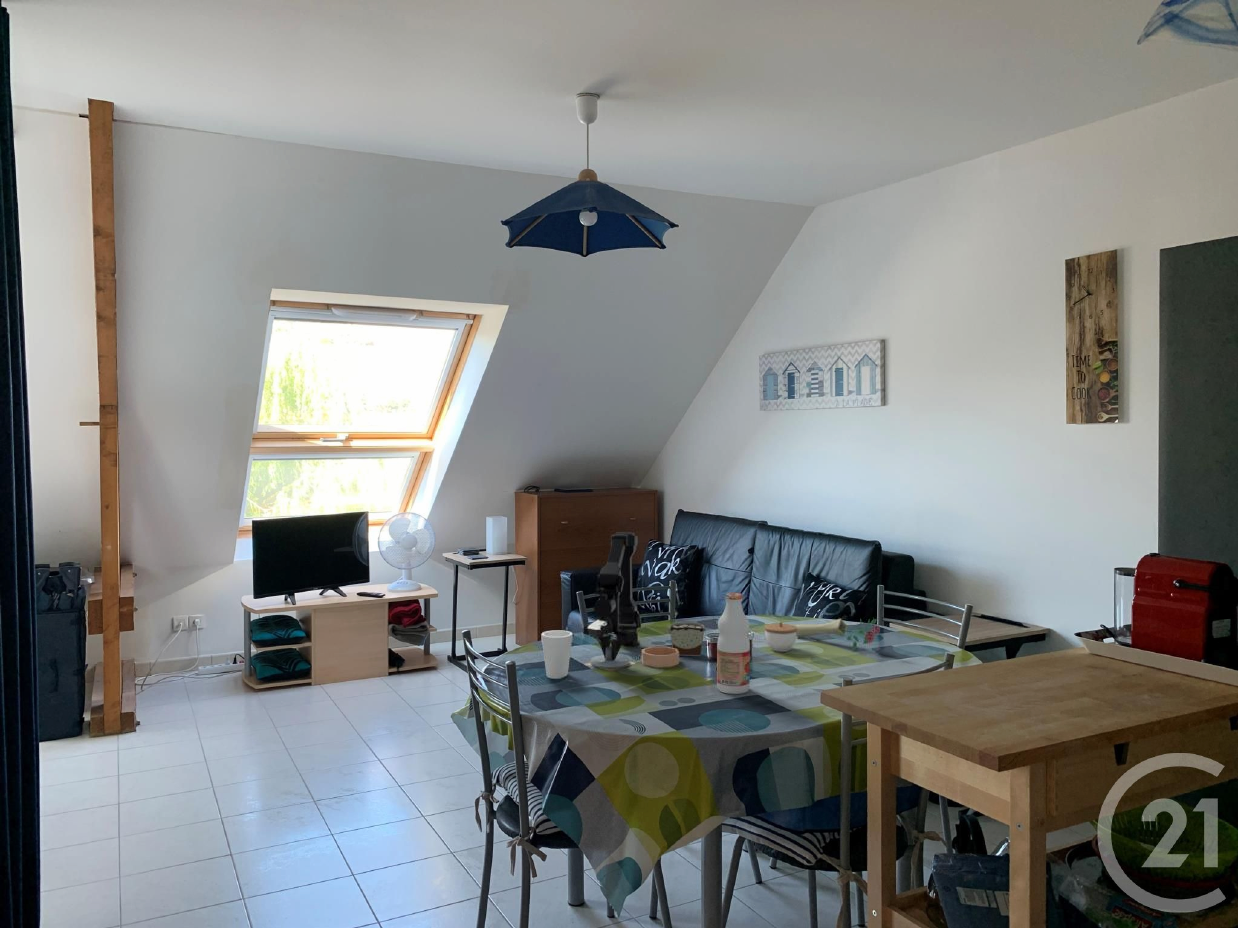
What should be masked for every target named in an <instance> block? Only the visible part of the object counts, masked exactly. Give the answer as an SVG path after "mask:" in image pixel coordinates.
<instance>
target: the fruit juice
mask: <svg viewBox="0 0 1238 928" xmlns="http://www.w3.org/2000/svg"><path fill="white" fill-rule="evenodd" d="M724 597H725V601H726V602H725V603H726V605H725V607H724V611H723V613H722V614H721V616H720V618H719V619H718V621H717V629H718V632H719V633H718V634H719V636H718V638H717V645H716V653H717V654H716V655H717V656H716V659H717V660H716V664H717V665H716V687H717V690H718V691H719V692H721V693H724V694H728V695H740V694H746V693H747V692H749V691H750V687H751V686H750V685H751V684H750V681H751V680H750V677H751V676H750V675H751V673H750V672H751V670H750V668H751V666H750V665H751V662H750V660H751V659H750V656H751V655H750V654H751V646H750V645H751V643H750V638H749V631H750V621H749V619H748V617H747V616H746V615H745V613H744V609H743V606H742V601H743V594H742V593H740V592H739V593H738V592H737V593H736V592H728V593H726V594H725V596H724Z"/></svg>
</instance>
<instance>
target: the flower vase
mask: <svg viewBox="0 0 1238 928" xmlns="http://www.w3.org/2000/svg"><path fill="white" fill-rule="evenodd" d="M859 620H860V623H858V624H857V625H856V626H855V627H856V628H857V629H858V630H855V631H853V629H854V628H855V627H853V629H851V630H847V628H848V625H847V624H846V623H845V621H844V620H843V619H842V618H838V619H835V620H832V621H829V622H827V623H796V624H795V625H794V626H795V627H796V628H797V631H796V638H805V637H810V636H816V635H834V636H835V635H836V636H841V637H845V635H846V633H848V634H849V636H846V638H845V639H846V640H847V641H852V652H855V651H856V649H857V642H858V643H860V640H859V638H858V637H857V636H856V635H851V634H852V633H853V634H859V635H862V636H864V637H863V643H862V645H866V644H867V645H869V644H871V643H873V641H874V640H875V637H876V635H878V634H879V633H880V631H881V630H880V629H881V628H880V626H879V625H875V624H876V622H877V620H878V619H877V618H873V619H872V620H871V621H870V620H868V622H867V624H866V625H864V626H862V619H861V618H860V619H859ZM870 625H874V626H872V629H871V628H869V627H870ZM860 626H862V628H860ZM865 626H867V627H865ZM864 627H865V628H864ZM853 639H854V640H855V641H853Z"/></svg>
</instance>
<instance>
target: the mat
mask: <svg viewBox="0 0 1238 928" xmlns="http://www.w3.org/2000/svg"><path fill="white" fill-rule="evenodd" d="M635 664H637V662H633V661H629V664H628V665H627V666H624V667H619V668H601V667H596V666H593V665H591V661H590V662H585V663H584V664H583V665H585V666H589V667H593V668H597V669H602V670H606V671H609V672H615V671H616V670H620V669H622V668H626V667H629V666H633V665H635Z"/></svg>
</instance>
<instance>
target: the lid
mask: <svg viewBox="0 0 1238 928" xmlns="http://www.w3.org/2000/svg"><path fill="white" fill-rule="evenodd" d="M590 662H591V665H593V666H596V667H595V668H597V667H601V668H619V667H623V668H625V667H624V666H626V667H628V666H627V665H628V664H629V662H630V658H629V657H627V656H625V655H620V654H619V655H618V654H617V657H616V659H615V660H612V647H611V645H610V646H607V647H606V658H605V657H604V654H600V655H596V656H593V657H591V658H590ZM601 668H600V669H601Z"/></svg>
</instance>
